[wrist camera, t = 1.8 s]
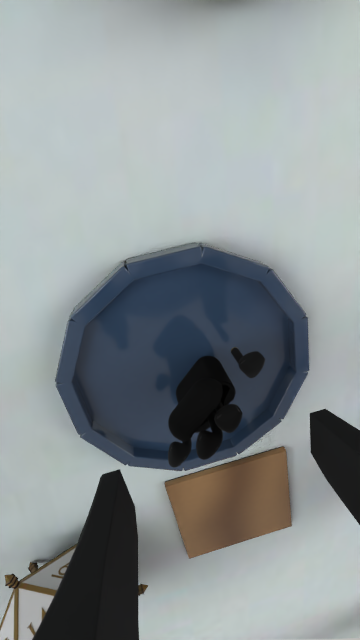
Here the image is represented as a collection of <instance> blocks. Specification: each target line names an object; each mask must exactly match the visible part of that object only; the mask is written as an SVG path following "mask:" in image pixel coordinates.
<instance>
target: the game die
mask: <svg viewBox="0 0 360 640" xmlns="http://www.w3.org/2000/svg"><path fill="white" fill-rule="evenodd" d="M76 546H77V544H76V545H74V546H73V547H71V548H70V549H68V550H66V551H65V552H63V553H62V554H60V555H59V556H57V557H56V558H54V559H52V560H51V561H49V562H48V563H46V564H45V565H43V566H42V567H40V568H39V569H38V565H37V562H36V563H32V562H30V565H29V567H28V569H29V571H30V572H31V574H29V575H28V576H26V577H25V578H23V579H21V580H20V581H18V578H17V577H16V576H15V575H14V574H12V575H5V580H6V585H5V586H9V588H11V587H12V588H14V589H13V592H12V595H11V598H10V600H9V603H8V606H7V608H6V611H5V614H4V617H3V619H2V622H1V625H0V640H32V639H33V637H34V635H35V633H36V631H37V629H38V627H39V626H40V624H41V622H42V620H43V618H44V616H45V614H46V612H47V610H48V608H49V606H50V604H51V602H52V600H53V598H54V596H55V593H56V591H57V589H58V587H59V585H60V583H61V581H62V578H63V576H64V574H65V571H66V569H67V567H68V565H69V562H70V560H71V558H72V555H73V553H74V551H75V548H76ZM147 587H148V585H144V584H140V585H138V595H139V596H140V594H144V591H145V590H146V588H147Z"/></svg>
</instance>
